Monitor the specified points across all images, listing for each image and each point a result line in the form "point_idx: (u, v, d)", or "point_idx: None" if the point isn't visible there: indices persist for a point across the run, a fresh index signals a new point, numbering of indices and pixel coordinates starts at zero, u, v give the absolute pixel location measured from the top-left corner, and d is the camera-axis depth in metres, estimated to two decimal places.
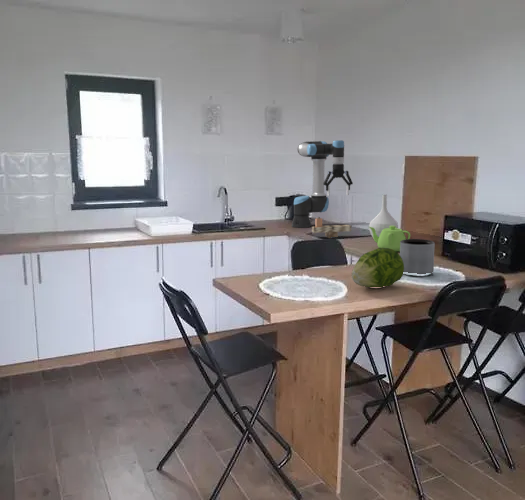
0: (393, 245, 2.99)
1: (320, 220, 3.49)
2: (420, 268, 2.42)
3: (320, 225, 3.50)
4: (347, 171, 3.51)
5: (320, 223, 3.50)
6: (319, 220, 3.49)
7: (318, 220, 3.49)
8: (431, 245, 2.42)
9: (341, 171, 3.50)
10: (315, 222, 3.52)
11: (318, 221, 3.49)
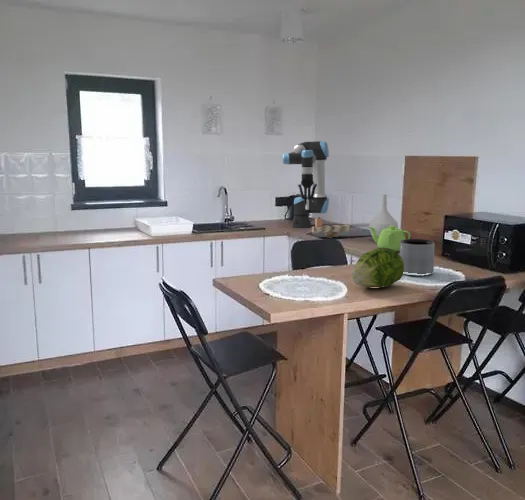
0: (393, 245, 2.99)
1: (320, 220, 3.49)
2: (420, 268, 2.42)
3: (320, 225, 3.50)
4: (316, 184, 3.44)
5: (320, 223, 3.50)
6: (319, 220, 3.49)
7: (318, 220, 3.49)
8: (431, 245, 2.42)
9: (310, 181, 3.44)
10: (315, 222, 3.52)
11: (318, 221, 3.49)
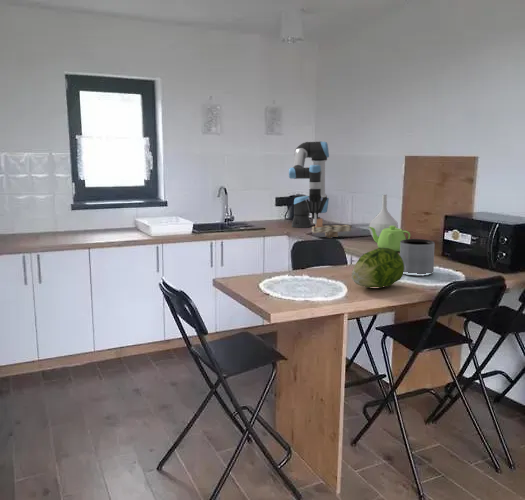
0: (393, 245, 2.99)
1: (320, 220, 3.49)
2: (420, 268, 2.42)
3: (320, 225, 3.50)
4: (323, 199, 3.47)
5: (320, 223, 3.50)
6: (319, 220, 3.49)
7: (318, 220, 3.49)
8: (431, 245, 2.42)
9: (318, 196, 3.46)
10: None
11: (318, 221, 3.49)
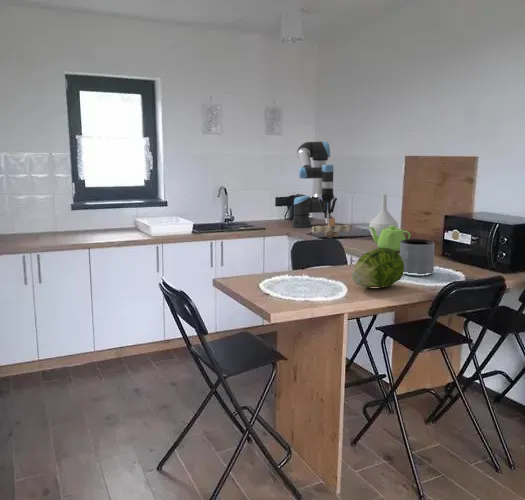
0: (393, 245, 2.99)
1: (333, 219, 3.51)
2: (420, 268, 2.42)
3: (332, 225, 3.52)
4: (336, 198, 3.49)
5: (333, 222, 3.51)
6: (332, 219, 3.51)
7: (331, 219, 3.51)
8: (431, 245, 2.42)
9: (330, 195, 3.48)
10: None
11: (331, 220, 3.51)
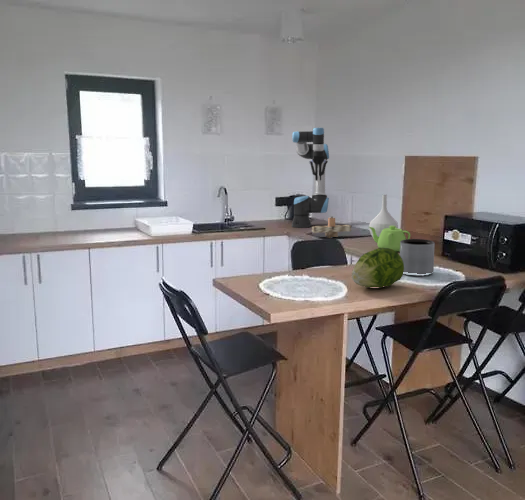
0: (393, 245, 2.99)
1: (333, 219, 3.51)
2: (420, 268, 2.42)
3: (332, 225, 3.52)
4: (326, 161, 3.58)
5: (333, 222, 3.51)
6: (332, 219, 3.51)
7: (331, 219, 3.51)
8: (431, 245, 2.42)
9: (321, 158, 3.57)
10: (328, 221, 3.53)
11: (331, 220, 3.51)
